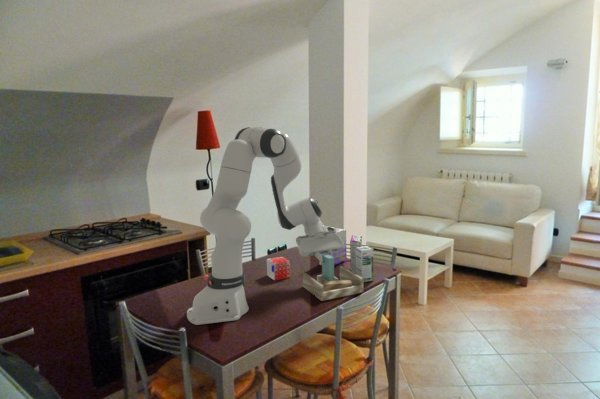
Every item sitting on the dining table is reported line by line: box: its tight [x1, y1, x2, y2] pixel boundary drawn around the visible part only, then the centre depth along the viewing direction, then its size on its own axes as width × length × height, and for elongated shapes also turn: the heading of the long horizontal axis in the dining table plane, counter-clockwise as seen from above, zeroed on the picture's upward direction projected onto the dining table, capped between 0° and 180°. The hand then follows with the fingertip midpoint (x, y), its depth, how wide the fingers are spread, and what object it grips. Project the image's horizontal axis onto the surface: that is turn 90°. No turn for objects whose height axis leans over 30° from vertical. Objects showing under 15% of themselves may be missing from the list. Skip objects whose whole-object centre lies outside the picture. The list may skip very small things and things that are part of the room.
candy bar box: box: [349, 234, 363, 274], centre depth 194 cm, size 11×5×16 cm, turn 168°
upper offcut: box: [322, 279, 352, 290], centre depth 172 cm, size 12×4×2 cm, turn 94°
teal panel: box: [321, 254, 335, 281], centre depth 177 cm, size 2×6×12 cm, turn 24°
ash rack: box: [302, 266, 364, 302], centre depth 175 cm, size 19×17×6 cm
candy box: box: [318, 227, 348, 267], centre depth 208 cm, size 14×6×16 cm, turn 130°
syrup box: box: [356, 245, 374, 283], centre depth 185 cm, size 6×6×14 cm
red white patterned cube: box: [266, 256, 291, 281], centre depth 192 cm, size 8×8×8 cm
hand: (326, 261), depth 177 cm, fingers closed on teal panel, 2 cm apart
